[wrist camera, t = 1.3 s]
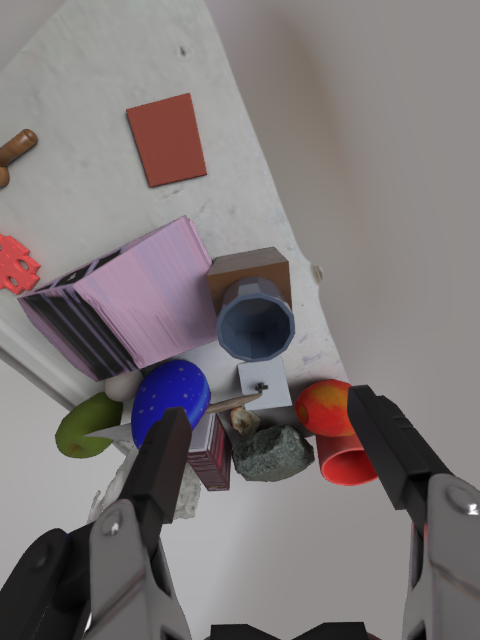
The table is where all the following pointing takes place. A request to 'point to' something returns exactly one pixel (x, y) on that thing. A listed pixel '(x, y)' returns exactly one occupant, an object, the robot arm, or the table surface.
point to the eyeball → (123, 386)
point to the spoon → (14, 152)
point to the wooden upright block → (248, 272)
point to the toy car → (130, 304)
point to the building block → (16, 266)
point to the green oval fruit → (88, 426)
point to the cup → (254, 320)
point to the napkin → (168, 140)
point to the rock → (272, 454)
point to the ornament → (169, 396)
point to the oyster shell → (244, 421)
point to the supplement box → (211, 453)
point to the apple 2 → (325, 408)
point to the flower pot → (344, 460)
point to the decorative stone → (188, 494)
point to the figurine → (265, 384)
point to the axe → (126, 434)
